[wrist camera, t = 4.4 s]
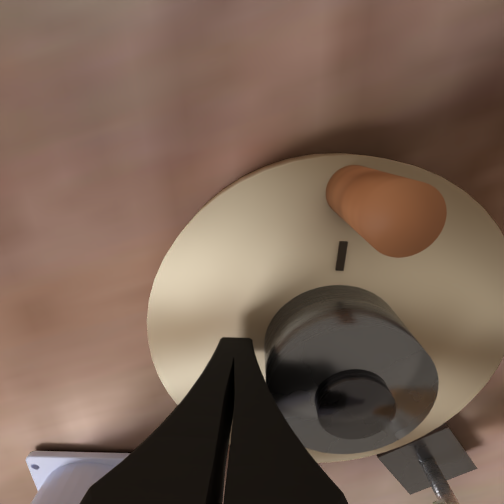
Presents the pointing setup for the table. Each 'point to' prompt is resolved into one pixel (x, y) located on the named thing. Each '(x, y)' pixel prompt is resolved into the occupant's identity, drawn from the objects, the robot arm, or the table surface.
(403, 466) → the grey and clear piece
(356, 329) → the iron cover
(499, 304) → the turntable
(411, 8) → the table surface
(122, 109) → the table surface
